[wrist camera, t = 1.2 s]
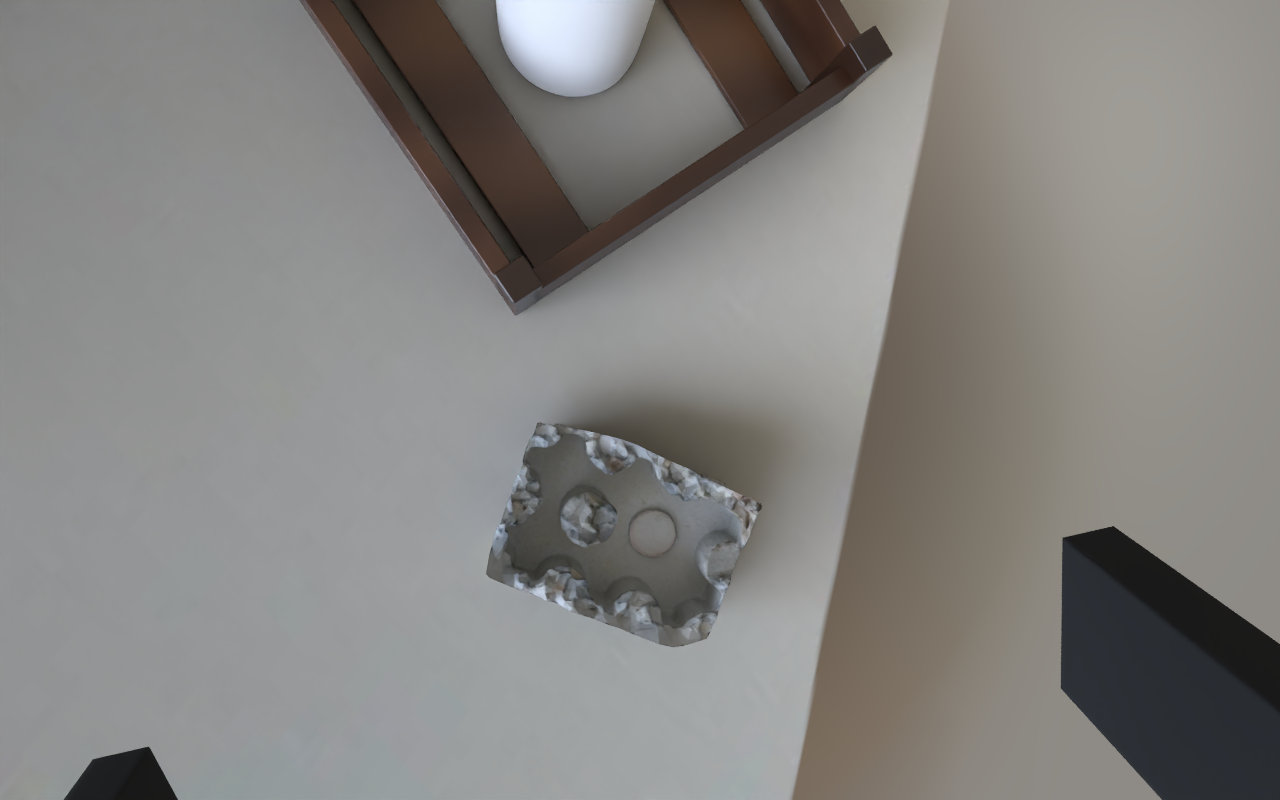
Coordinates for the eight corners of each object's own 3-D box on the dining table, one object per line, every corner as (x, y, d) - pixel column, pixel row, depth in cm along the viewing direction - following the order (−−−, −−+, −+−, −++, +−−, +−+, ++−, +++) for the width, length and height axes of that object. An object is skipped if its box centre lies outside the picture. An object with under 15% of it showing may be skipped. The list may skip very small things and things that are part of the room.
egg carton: (749, 490, 36) (777, 504, 32) (688, 637, 36) (709, 669, 32) (542, 404, 35) (545, 407, 31) (477, 556, 34) (471, 580, 30)
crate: (264, -51, 33) (215, -132, 27) (624, -256, 35) (641, -367, 29) (515, 316, 34) (513, 304, 29) (841, 100, 37) (893, 54, 31)
